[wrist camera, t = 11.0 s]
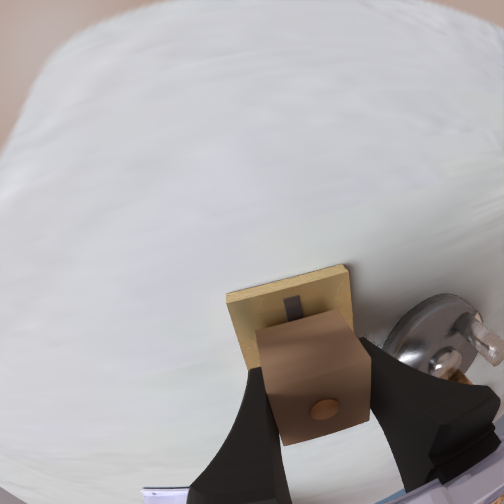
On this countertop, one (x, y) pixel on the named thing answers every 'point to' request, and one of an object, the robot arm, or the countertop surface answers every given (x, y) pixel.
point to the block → (315, 376)
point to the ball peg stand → (443, 338)
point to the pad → (287, 305)
